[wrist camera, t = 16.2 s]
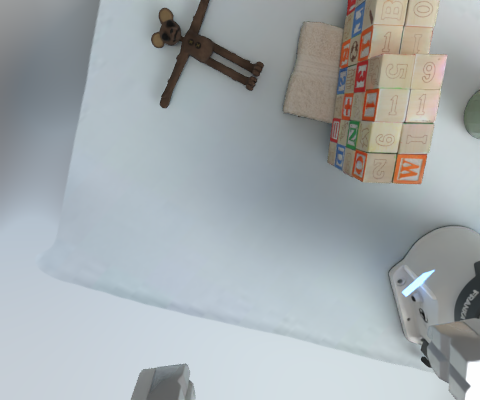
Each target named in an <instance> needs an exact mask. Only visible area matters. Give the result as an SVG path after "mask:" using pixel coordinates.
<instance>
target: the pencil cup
mask: <svg viewBox="0 0 480 400" xmlns="http://www.w3.org/2000/svg"><path fill="white" fill-rule="evenodd" d="M464 124H465V127H466V129H467V131H468V132H469V134H470V135H472V136H473V137H475V138H477V139H480V90H479V91H478V92H476V93H475V94H474V95H473V96H472V98H471V99H470V100H469V102H468V104H467V106H466V109H465V112H464Z"/></svg>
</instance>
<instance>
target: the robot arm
mask: <svg viewBox="0 0 480 400" xmlns="http://www.w3.org/2000/svg"><path fill="white" fill-rule="evenodd" d="M389 277H390V281H391V285H392V289H393V293H394V297H395V300H396V304H397V308H398V312H399V316H400V320H401V324H402V328H403V332H404V335H405V337H406V338H407V339H408V340H409V341H410V342H413V343H416V344H420V345H422V347H421V351H422V352H423V354H424V355H425V356H426V357H427V358H425V357H422V358H421V361H422V362H423V363H424V364H425V365H426V366H428V367H430V368H432V369H433V370H434V372H435V373H436V375H437V376H438V377H439V378H440V379H442V380H443V381H445V382H447V383H449V392H450V393H451V394H452V395H453V397H454V398H455V399H456V400H480V235H479V234H478V233H477V232H475V231H473V230H471V229H469V228H466V227H461V226H448V227H443V228H439V229H437V230H434V231H432V232H430V233H428V234H426V235H425V236H423V237H422V238H421V239H420V240H418V241H417V242H416V243H415V244H414V246H413V247H412V248H411V249H410V251H409V252H408V254H407V255H406V257H405V258H404V259H403V260H402V261H401V262H399V263H398V264H397V265H395V266H394V267H393V268H392V269H391V270H390V272H389ZM399 279H400V280H399ZM398 280H399V281H398ZM189 376H190V371H189V368H188V365H187V364H179V365H171V366H164V367H157V368H151V369H143V370H142V371H141V373H140V375H139V377H138V380H137V383H136V386H135V389H134V392H133V395H132V398H131V400H195V390H194V386H193V383H192V382H191V381H190V380H189Z"/></svg>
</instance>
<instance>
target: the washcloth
mask: <svg viewBox="0 0 480 400" xmlns="http://www.w3.org/2000/svg"><path fill="white" fill-rule="evenodd" d="M343 34H344V28H340V27H337V26H333V25H329V24H325V23H321V22H309V21H306V22H303V26H302V28H301V32H300V37H299V43H298V50H297V60H296V62H295V66H294V71H293V73H292V75H291V77H290V80H289V83H288V88H287V92H286V95H285V101H284V105H283V112H284V113H290V114H294V115H298V117H301V116H302V117H308V118H309V119H314V120H318V121H323V122H326V123H331V124H332V122H333V118H334V111H335V103H336V96H337V86H338V78H339V71H340V69H339V66H340V58H341V50H342V44H343Z"/></svg>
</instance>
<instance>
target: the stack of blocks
mask: <svg viewBox="0 0 480 400" xmlns="http://www.w3.org/2000/svg"><path fill="white" fill-rule="evenodd" d="M439 2H440V0H348V8H347V17H346V18H345V26H344V34H343V44H342V50H341V58H340V66H339V69H340V71H339V78H338V86H337V96H336V103H335V111H334V118H333V122H332V130H331V137H330V144H329V152H328V160H327V162H328V163H329V164H331V165H333V166H335V167H336V168H338V169H340V170H341V171H343V172H344V173H345V174H347V175H349V176H351V177H355V178H356V179H358V180H360V181H361V182H365V183H391V182H392V183H396V184H421V183H422V179H423V174H424V169H425V164H426V159H427V154H428V153H429V151H430V146H431V140H432V135H433V130H434V122H435V120H436V116H437V110H438V105H439V100H440V95H441V91H440V89H441V87H442V82H443V76H444V71H445V66H446V60H447V54H429V50H430V45H431V39H432V34H433V28H434V27H435V23H436V18H437V13H438V7H439Z"/></svg>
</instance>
